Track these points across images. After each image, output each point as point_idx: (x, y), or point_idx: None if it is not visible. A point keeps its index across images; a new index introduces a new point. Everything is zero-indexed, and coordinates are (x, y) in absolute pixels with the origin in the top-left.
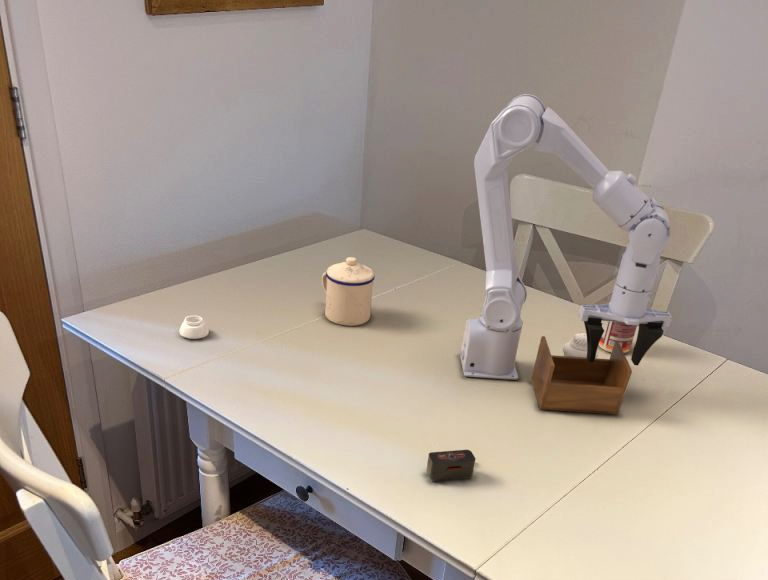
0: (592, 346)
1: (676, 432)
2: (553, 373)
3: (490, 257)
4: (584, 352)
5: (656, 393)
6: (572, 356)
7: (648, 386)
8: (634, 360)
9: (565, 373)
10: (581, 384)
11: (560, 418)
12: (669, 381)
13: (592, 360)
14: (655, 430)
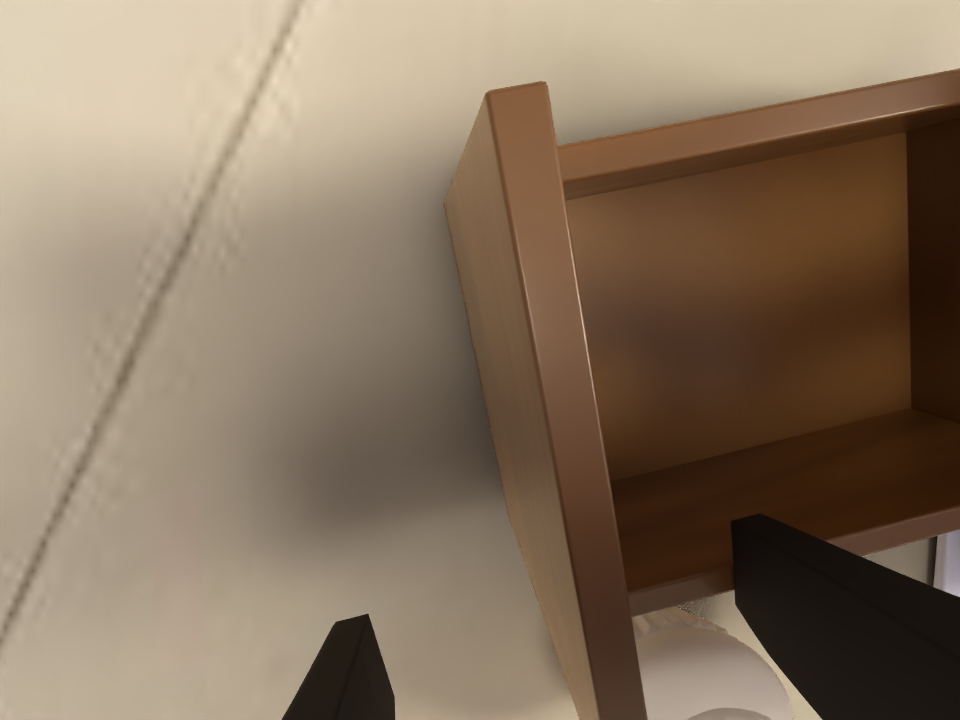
0: (957, 602)
1: (30, 94)
2: (858, 443)
3: None
4: (703, 700)
5: (196, 557)
6: (748, 651)
7: (246, 614)
8: (372, 664)
9: (793, 462)
10: (661, 434)
11: (794, 50)
12: (124, 712)
13: (758, 524)
14: (186, 77)
